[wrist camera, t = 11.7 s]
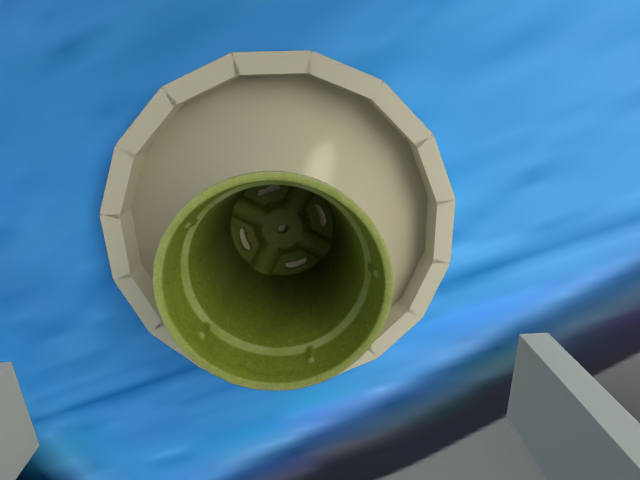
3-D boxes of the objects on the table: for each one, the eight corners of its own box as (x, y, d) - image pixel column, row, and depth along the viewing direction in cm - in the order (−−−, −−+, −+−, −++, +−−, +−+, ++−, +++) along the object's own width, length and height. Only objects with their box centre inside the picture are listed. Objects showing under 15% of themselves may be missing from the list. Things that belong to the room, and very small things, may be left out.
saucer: (90, 59, 22) (66, 56, 20) (450, 51, 23) (468, 46, 21) (149, 367, 28) (136, 392, 26) (429, 351, 29) (441, 373, 27)
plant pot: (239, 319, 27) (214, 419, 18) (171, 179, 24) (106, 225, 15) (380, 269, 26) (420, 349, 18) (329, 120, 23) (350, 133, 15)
